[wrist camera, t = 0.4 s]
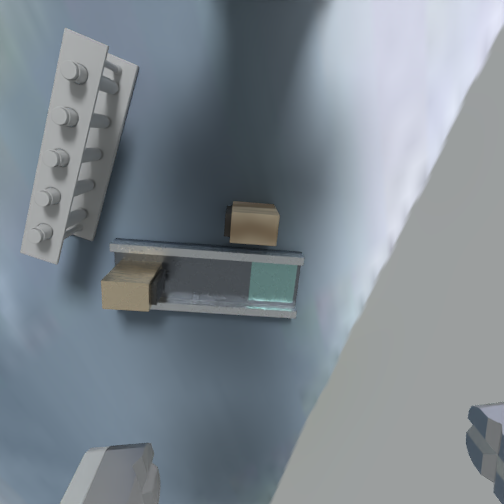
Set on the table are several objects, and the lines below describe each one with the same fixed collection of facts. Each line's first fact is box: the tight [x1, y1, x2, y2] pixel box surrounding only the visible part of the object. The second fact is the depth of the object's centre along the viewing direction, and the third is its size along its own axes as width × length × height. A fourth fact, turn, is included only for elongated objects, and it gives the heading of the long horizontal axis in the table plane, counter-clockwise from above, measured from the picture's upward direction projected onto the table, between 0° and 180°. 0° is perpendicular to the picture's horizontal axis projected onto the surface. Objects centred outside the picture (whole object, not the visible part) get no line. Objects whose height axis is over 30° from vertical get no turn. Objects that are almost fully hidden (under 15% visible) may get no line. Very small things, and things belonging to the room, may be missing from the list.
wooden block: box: [224, 201, 280, 246], centre depth 48 cm, size 4×7×8 cm, turn 85°
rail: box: [101, 238, 304, 319], centre depth 50 cm, size 10×28×9 cm, turn 85°
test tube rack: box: [20, 28, 139, 264], centre depth 42 cm, size 25×4×13 cm, turn 158°
